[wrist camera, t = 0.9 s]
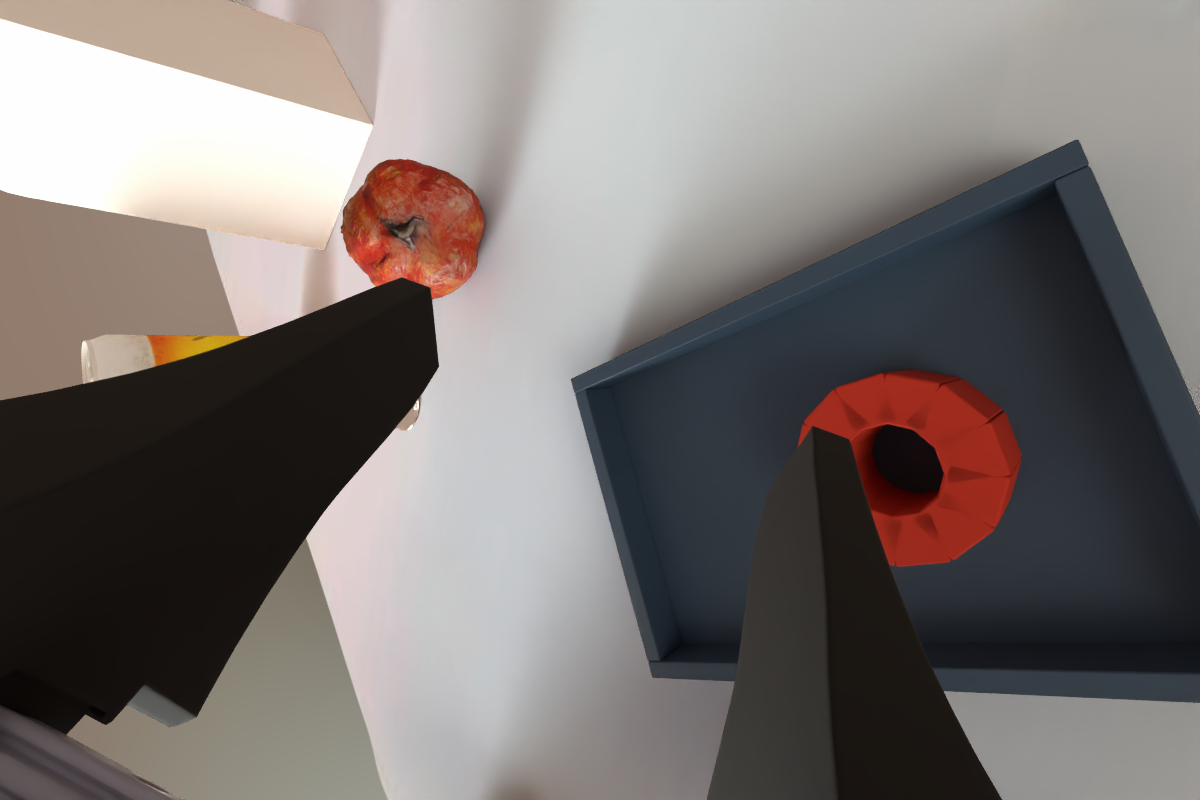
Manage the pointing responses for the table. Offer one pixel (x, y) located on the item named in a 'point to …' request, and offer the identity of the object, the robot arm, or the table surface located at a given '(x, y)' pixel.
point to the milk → (178, 115)
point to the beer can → (141, 352)
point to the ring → (963, 445)
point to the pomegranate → (414, 226)
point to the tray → (993, 366)
